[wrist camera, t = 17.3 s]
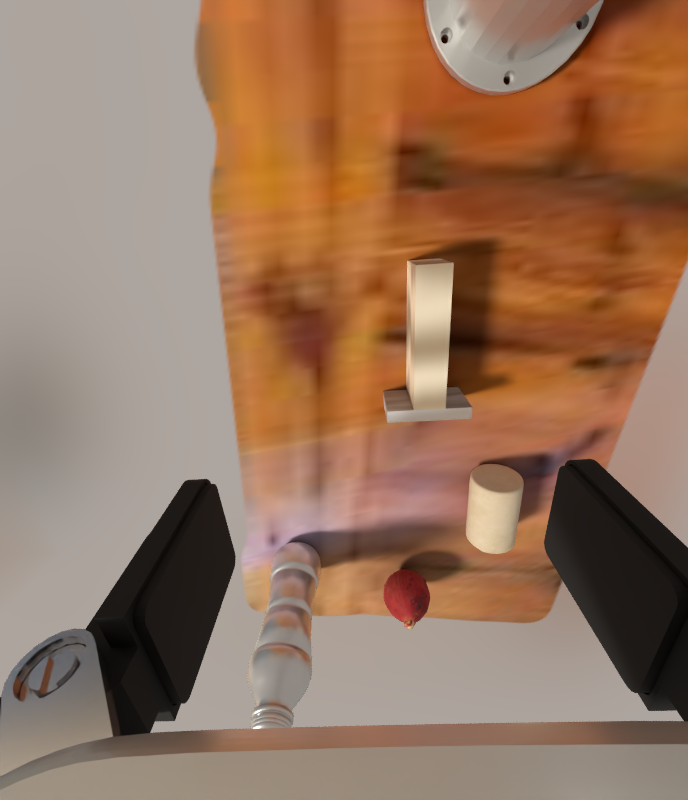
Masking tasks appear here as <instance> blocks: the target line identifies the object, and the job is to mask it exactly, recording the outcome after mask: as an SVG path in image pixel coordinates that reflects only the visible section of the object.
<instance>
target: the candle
mask: <svg viewBox="0 0 688 800" xmlns="http://www.w3.org/2000/svg"><path fill="white" fill-rule="evenodd" d="M523 487H524V483H523V479H522V477H521V475H520V474H519V473H517V472H516V471H515V470H513V469H511V468H509V467H506V466H503V465H498V464H483V465H480V466H477V467H476V468H474V469H473V470H472V472H471V476H470V484H469V497H468V509H467V522H466V536H467V538H468V540H469V541H470V542H471V543H472V544H473V545H474V546H475V547H476V548H478V549H480V550H481V551H482V552H487V553H492V554H500V553H505V552H507V551H509V550H511V549H512V548H513V546H514V544H515V539H516V532H517V526H518V519H519V513H520V507H521V500H522V494H523Z"/></svg>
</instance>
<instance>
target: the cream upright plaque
mask: <svg viewBox="0 0 688 800" xmlns="http://www.w3.org/2000/svg"><path fill="white" fill-rule="evenodd" d="M453 269H454V263H453V262H450V261H447V260H444V259H441V258H437V259H422V260H408V261H407V372H406V390H392V391H383V402H384V408H385V413H386V418H387V423H393V422H413V421H433V420H452V419H471V417H472V406H471V405H470V403H469V402H468V400H467V399H466V397H465V396H464V395H463V393H462V392H461V390H460V389H459V387H448V388H447V375H448V357H449V340H450V322H451V304H452V287H453Z"/></svg>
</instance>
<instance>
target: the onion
mask: <svg viewBox="0 0 688 800" xmlns="http://www.w3.org/2000/svg"><path fill="white" fill-rule="evenodd" d="M384 601H385V604H386V606H387V608H388V609H389V611H390V613H391V614H392V615H393V616H394V617H395V618H397V619H398V620H399V621H401V622H404V626H405V627H406V628H407V629H412V628H413V626H414V625H415V623H416V622H417V621H419V620H420V619H421V618H422V617H423V616H424V614H425V613H426V612H427V610H428V606H429V602H430V593H429V590H428V587H427V584H426V581H425V580H424V579H423V577H422V576H420V575H419V574H418V573H417V572H415V571H412V570H408V569H401V570H399V571H397V572H395V573H394V574H392V575H391V576H390V577H389V578H388V580H387V581H386V584H385V586H384Z"/></svg>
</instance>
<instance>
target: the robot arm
mask: <svg viewBox="0 0 688 800" xmlns="http://www.w3.org/2000/svg"><path fill="white" fill-rule="evenodd" d="M603 2H604V0H424V11H425V19H426V26H427V29H428V33H429V36H430V40H431V43H432V46H433V48H434V50H435V52H436V54H437V56H438V58H439V60H440V62H441V63H442V64H443V66H444V67H445V68H446V70H447V71H448V72H449V73H450V75H451V76H452V77H454V78H455V79H456V80H457V81H458V82H460V83H461V84H462V85H463V86H465V87H467V88H469V89H471V90H473V91H476V92H478V93H483V94H488V95H509V94H513V93H517V92H520V91H524V90H526V89H528V88H530V87H532V86H534V85H536V84H538V83H540V82H541V81H542V80H544V79H545V78H547V77H548V76H549V75H551V74H552V73H553V72H554V71H556V70H557V69H558V68H559V67H560V66H561V65H562V64H564V63H565V62H566V61H567V60H568V59H569V58H570V56H571V55H572V54H573V53H574V52H575V50H576V49H577V48H578V47H579V46H580V44H581V43H582V42H583V40H584V39H585V37H586V35H587V34H588V32H589V31H590V29H591V28H592V26H593V24H594V22H595V20H596V17H597V15H598V13H599V11H600V9H601V6H602V4H603ZM576 24H578V26H579V29H578V28H577V27H576ZM443 37H445V38H446V39H447V43H446V44H445V43H443V42H442V41H441V38H443ZM504 78H506V79H507V80H508V84H507V85H506V84H505V83H504ZM544 545H545V550H546V553H547V555H548V557H549V558H550V560H551V562H552V563H553V565H554V567H555V568H556V570H557V572H558V573H559V575H560V577H561V578H562V580H563V582H564V583H565V585H566V587H567V588H568V590H569V592H570V593H571V595H572V597H573V598H574V600H575V601H576V603H577V605H578V606H579V608H580V610H581V611H582V613H583V615H584V616H585V618H586V620H587V621H588V623H589V625H590V626H591V628H592V630H593V631H594V633H595V635H596V636H597V638H598V639H599V641H600V643H601V644H602V646H603V648H604V649H605V651H606V653H607V654H608V656H609V658H610V659H611V661H612V663H613V664H614V666H615V668H616V669H617V671H618V672H619V674H620V676H621V678H622V679H623V681H624V682H625V684H626V685H627V687H628V688H629V689H630V690H631V691H633V692H634V693H638V694H639V696H640V697H641V699H642V701H643V702H644V704H645V706H646V707H647V709H648V710H649V711H667V710H677V711H678V713H679V714H680V716H681V717H682V719H683V720H684V721H615V722H614V721H612V722H546V723H544V722H540V723H484V724H482V723H479V724H430V725H429V724H426V725H382V726H381V725H380V726H334V727H298V728H297V727H296V728H257V729H224V730H201V731H180V732H160V733H150V732H151V729H152V727H153V724H154V722H155V721H175V719H176V716H177V713H178V710H179V707H180V705H181V703H186V702H187V700H188V699H189V697H190V695H191V692H192V689H193V686H194V683H195V680H196V677H197V674H198V672H199V669H200V666H201V663H202V660H203V657H204V654H205V651H206V648H207V645H208V642H209V640H210V637H211V634H212V631H213V628H214V625H215V622H216V619H217V616H218V613H219V611H220V608H221V604H222V601H223V599H224V596H225V593H226V590H227V587H228V584H229V582H230V579H231V576H232V573H233V570H234V566H235V552H234V548H233V544H232V541H231V537H230V534H229V530H228V526H227V522H226V519H225V515H224V512H223V508H222V504H221V500H220V497H219V493H218V489H217V486H216V485H215V484H211V483H210V481H209V480H207V479H199V480H187V481H185V482H184V483H183V485H182V486H181V488H180V489H179V491H178V492H177V494H176V495H175V497H174V498H173V500H172V501H171V503H170V504H169V506H168V508H167V509H166V510H165V512H164V514H163V515H162V517H161V518H160V519H159V521H158V522H157V524H156V526H155V527H154V528H153V530H152V532H151V533H150V534H149V535H148V536H147V537H146V539H145V540H144V542H143V543H142V545H141V546H140V548H139V550H138V551H137V553H136V554H135V555H134V557H133V559H132V560H131V562H130V563H129V565H128V566H127V568H126V569H125V571H124V572H123V574H122V575H121V577H120V578H119V580H118V581H117V583H116V584H115V586H114V587H113V589H112V590H111V592H110V593H109V595H108V596H107V598H106V599H105V601H104V602H103V604H102V605H101V607H100V608H99V610H98V611H97V613H96V614H95V616H94V617H93V619H92V620H91V622H90V623H89V625H88V626H87V628H86V629H71V630H67V631H63V632H60V633H58V634H56V635H54V636H52V637H49V638H48V639H46V640H45V641H43V642H42V643H40V644H38V645H37V646H36V647H34V648H33V649H32V650H31V651H30V652H29V653H27V654H26V655H25V656H24V657H23V658H22V659H21V660H20V662H19V663H18V664H17V665H16V666H15V667H14V669H13V670H12V671H11V673H10V675H9V677H8V679H7V680H6V682H5V684H4V688H3V692H2V696H1V697H0V800H688V548H687V547H686V546H685V545H684V544H683V543H682V542H681V541H680V540H679V539H678V538H677V537H676V536H675V535H674V534H673V533H672V532H671V531H670V530H668V529H667V528H666V527H665V526H664V525H663V524H662V523H661V522H660V521H659V520H658V519H657V518H655V516H653V514H651V513H650V512H649V511H648V510H647V509H646V508H645V507H644V506H643V505H642V504H641V503H640V502H639V501H638V500H637V499H636V498H635V497H633V496H632V495H631V494H630V493H629V492H628V491H627V490H626V489H625V488H624V487H623V486H622V485H621V484H620V483H619V482H618V481H617V480H615V479H614V478H613V477H612V476H611V475H610V474H609V473H608V472H607V471H606V470H605V469H604V468H603V467H602V466H601V465H600V464H599V463H597V462H596V461H595V460H592V459H583V460H569V461H567V462H566V464H565V466H562V467H560V469H559V472H558V477H557V482H556V486H555V491H554V496H553V501H552V506H551V511H550V516H549V520H548V525H547V530H546V535H545V540H544Z"/></svg>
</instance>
